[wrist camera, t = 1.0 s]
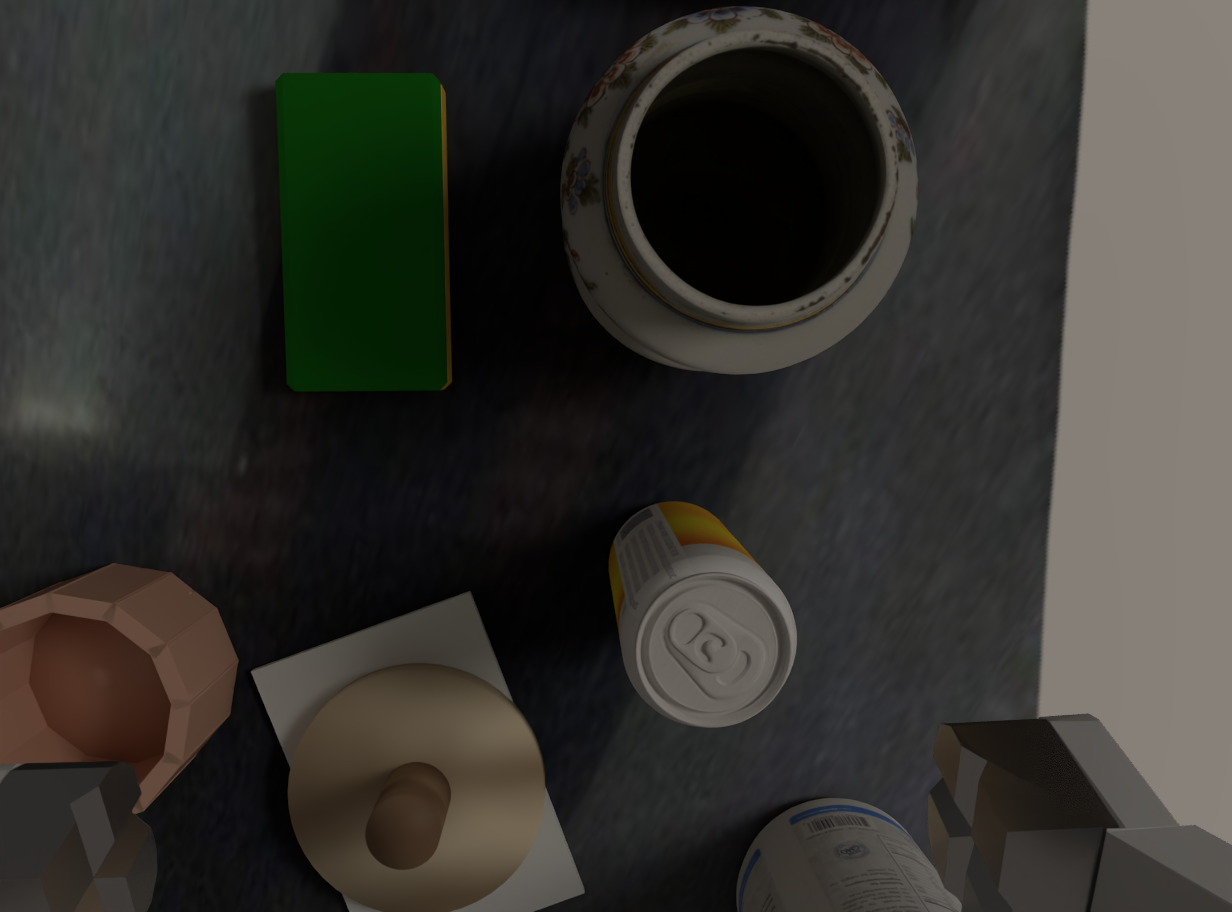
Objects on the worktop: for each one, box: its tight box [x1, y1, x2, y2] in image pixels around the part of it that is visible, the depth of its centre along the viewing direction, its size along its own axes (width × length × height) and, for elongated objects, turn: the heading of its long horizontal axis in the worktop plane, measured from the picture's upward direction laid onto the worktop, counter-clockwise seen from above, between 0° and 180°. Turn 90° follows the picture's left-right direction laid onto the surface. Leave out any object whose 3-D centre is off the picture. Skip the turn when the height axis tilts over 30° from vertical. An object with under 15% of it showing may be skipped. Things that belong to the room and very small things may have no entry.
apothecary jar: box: [560, 6, 918, 374], centre depth 39 cm, size 12×12×18 cm
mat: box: [251, 591, 585, 912], centre depth 49 cm, size 16×11×1 cm
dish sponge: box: [275, 73, 452, 391], centre depth 46 cm, size 7×14×2 cm, turn 0°
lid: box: [288, 663, 545, 912], centre depth 46 cm, size 12×12×5 cm
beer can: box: [609, 501, 797, 728], centre depth 41 cm, size 6×6×15 cm
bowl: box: [0, 563, 239, 814], centre depth 45 cm, size 10×10×6 cm
